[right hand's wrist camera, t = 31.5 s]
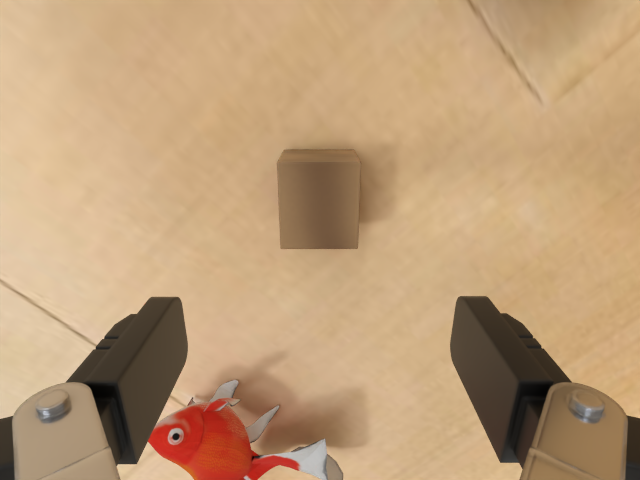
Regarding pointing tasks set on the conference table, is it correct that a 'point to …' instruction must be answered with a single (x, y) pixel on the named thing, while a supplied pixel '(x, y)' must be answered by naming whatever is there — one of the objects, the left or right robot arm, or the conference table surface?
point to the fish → (230, 443)
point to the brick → (319, 199)
